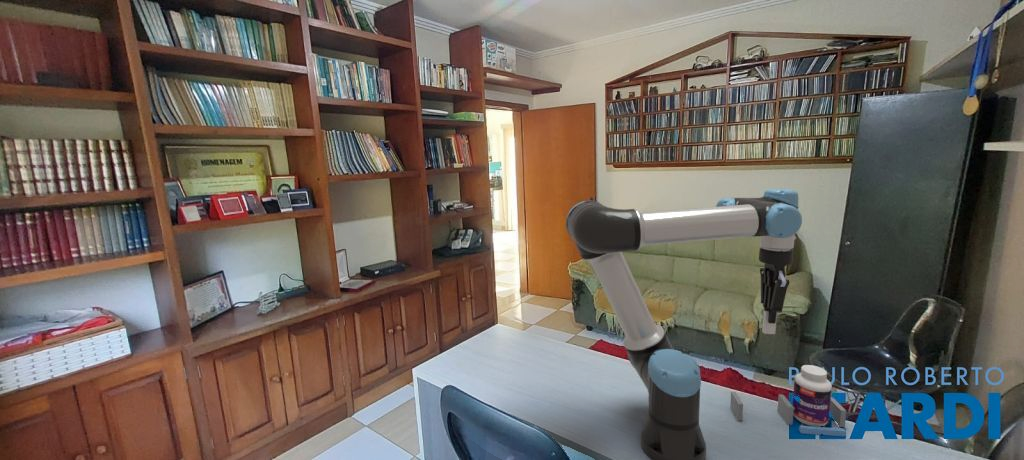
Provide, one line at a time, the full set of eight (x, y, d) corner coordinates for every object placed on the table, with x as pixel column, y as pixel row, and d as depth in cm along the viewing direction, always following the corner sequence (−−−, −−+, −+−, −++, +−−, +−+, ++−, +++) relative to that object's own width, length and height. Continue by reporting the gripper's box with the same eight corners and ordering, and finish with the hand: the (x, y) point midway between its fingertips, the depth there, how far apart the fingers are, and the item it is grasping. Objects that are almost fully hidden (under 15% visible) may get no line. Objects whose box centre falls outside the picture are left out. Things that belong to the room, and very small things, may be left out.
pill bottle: (793, 424, 109) (797, 374, 106) (789, 407, 116) (793, 360, 113) (831, 432, 105) (836, 380, 102) (825, 414, 112) (829, 365, 109)
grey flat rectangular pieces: (853, 437, 103) (854, 419, 102) (742, 429, 108) (743, 411, 107) (831, 414, 112) (832, 397, 111) (730, 407, 117) (731, 391, 116)
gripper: (804, 254, 100) (795, 344, 104) (781, 243, 113) (774, 324, 117) (770, 253, 102) (762, 341, 106) (751, 243, 114) (745, 322, 118)
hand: (768, 332), depth 111 cm, fingers closed
